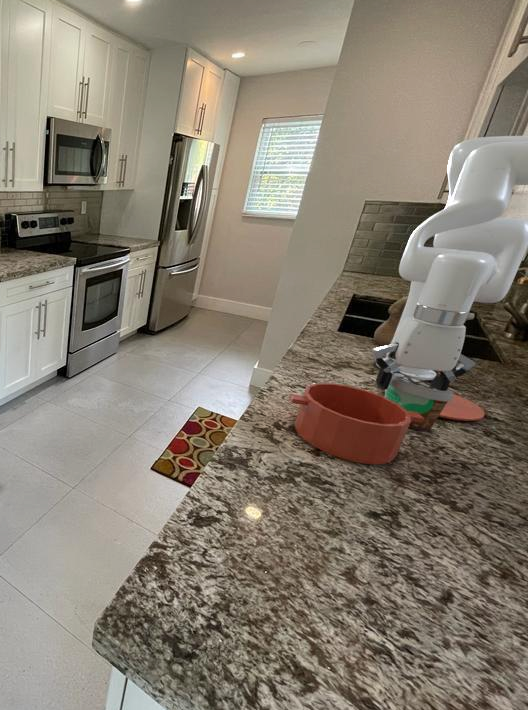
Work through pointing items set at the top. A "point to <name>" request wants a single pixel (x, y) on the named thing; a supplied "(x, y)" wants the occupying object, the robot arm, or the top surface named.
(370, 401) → the pot
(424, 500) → the top surface
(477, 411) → the lid
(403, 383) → the food container
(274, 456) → the top surface
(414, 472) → the top surface
